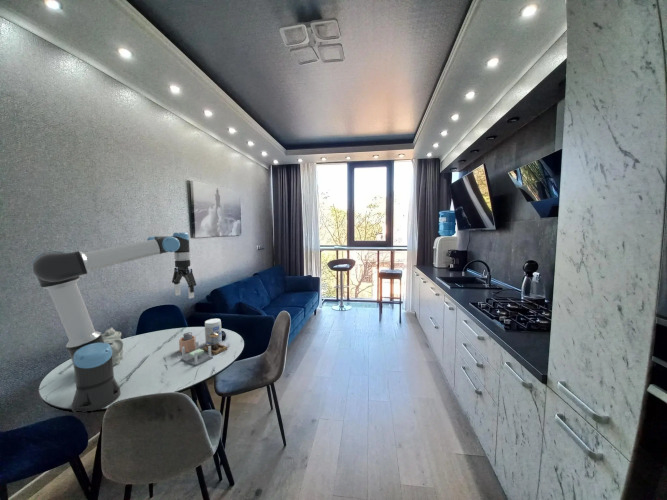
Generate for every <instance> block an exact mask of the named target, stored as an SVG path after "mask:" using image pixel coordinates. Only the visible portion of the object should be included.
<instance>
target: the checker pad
mask: <svg viewBox="0 0 667 500" xmlns="http://www.w3.org/2000/svg"><path fill="white" fill-rule="evenodd" d="M195 352H197V356H198V355H200V354H202V353H204V352H205V351H204V350H203V348H202V349H201V348H199V349H198V350H196V349H195V350H193V351H191V352H188V353H189V354H188V355H189V356H192V357H194V353H195Z"/></svg>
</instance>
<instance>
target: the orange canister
mask: <svg viewBox="0 0 667 500" xmlns="http://www.w3.org/2000/svg"><path fill="white" fill-rule="evenodd" d="M182 335H183V337H180V338H179V339H178V342H179V343H178V345H179V353H182V347H185V354H186V353H190V352H193V351H195V350H196V342H197V341H196V336H195V335H193V332H191V331H190V332H189V331H188V332H185V333H183V334H182Z"/></svg>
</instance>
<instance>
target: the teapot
mask: <svg viewBox="0 0 667 500" xmlns="http://www.w3.org/2000/svg"><path fill="white" fill-rule="evenodd" d="M101 334H102V337H103V340H104V342H105V343H108V344H109V345H110V346H111V349H112V360H113V367H116V366H117V365H119V364H120V363H121V360H123V358H124V356H123V354H124V349H123V348H124V340H123V339H122V338H121V337H122V332H121V331H118V330H115V329H114V328H113V327H110V328H108V329H106V330H105V331H104V333H101Z"/></svg>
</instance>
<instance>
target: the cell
mask: <svg viewBox="0 0 667 500" xmlns="http://www.w3.org/2000/svg"><path fill="white" fill-rule="evenodd" d="M210 342H211V350H218V349H219V344H220V343H219V333H216V332H213V333H212V334H210Z"/></svg>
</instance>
